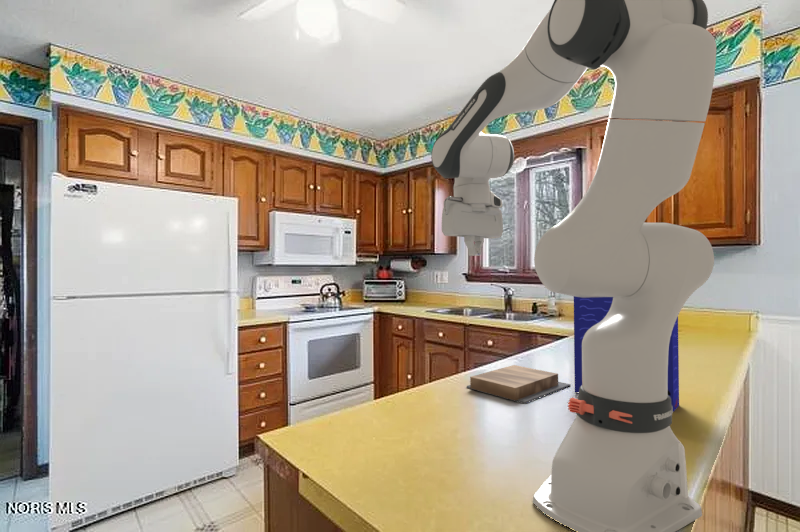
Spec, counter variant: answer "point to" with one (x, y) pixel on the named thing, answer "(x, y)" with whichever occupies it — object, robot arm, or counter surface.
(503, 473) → the counter surface
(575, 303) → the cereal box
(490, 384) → the board
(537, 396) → the mat
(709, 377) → the counter surface
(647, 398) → the robot arm
